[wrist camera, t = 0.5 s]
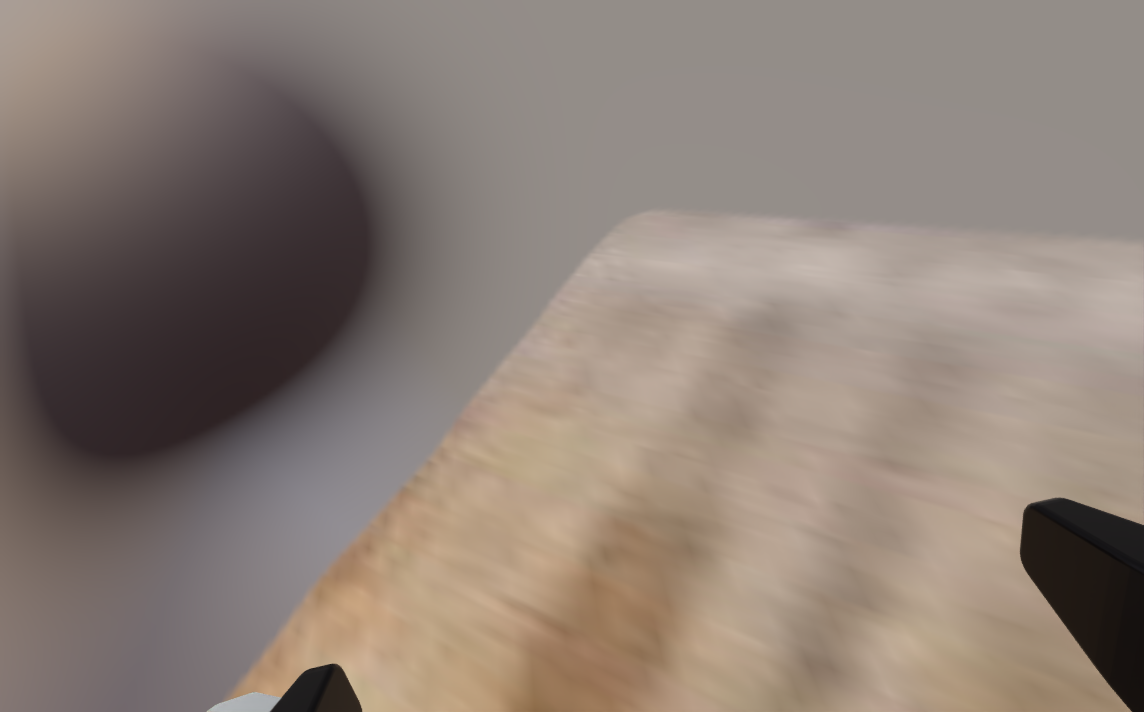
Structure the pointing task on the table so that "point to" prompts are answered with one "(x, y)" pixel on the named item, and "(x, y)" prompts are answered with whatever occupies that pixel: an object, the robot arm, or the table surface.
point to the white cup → (248, 704)
